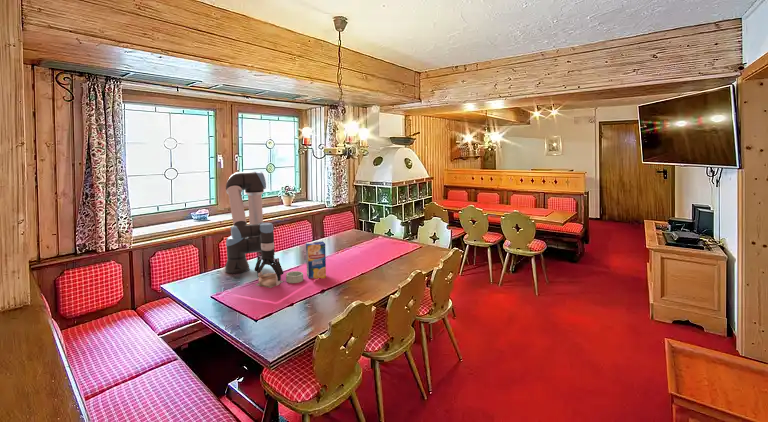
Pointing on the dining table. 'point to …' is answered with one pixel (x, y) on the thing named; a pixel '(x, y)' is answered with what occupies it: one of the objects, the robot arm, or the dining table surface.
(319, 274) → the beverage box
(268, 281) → the lid
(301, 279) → the bowl
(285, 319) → the dining table surface
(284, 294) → the dining table surface
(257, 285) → the mat
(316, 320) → the dining table surface
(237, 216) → the robot arm
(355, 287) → the dining table surface
